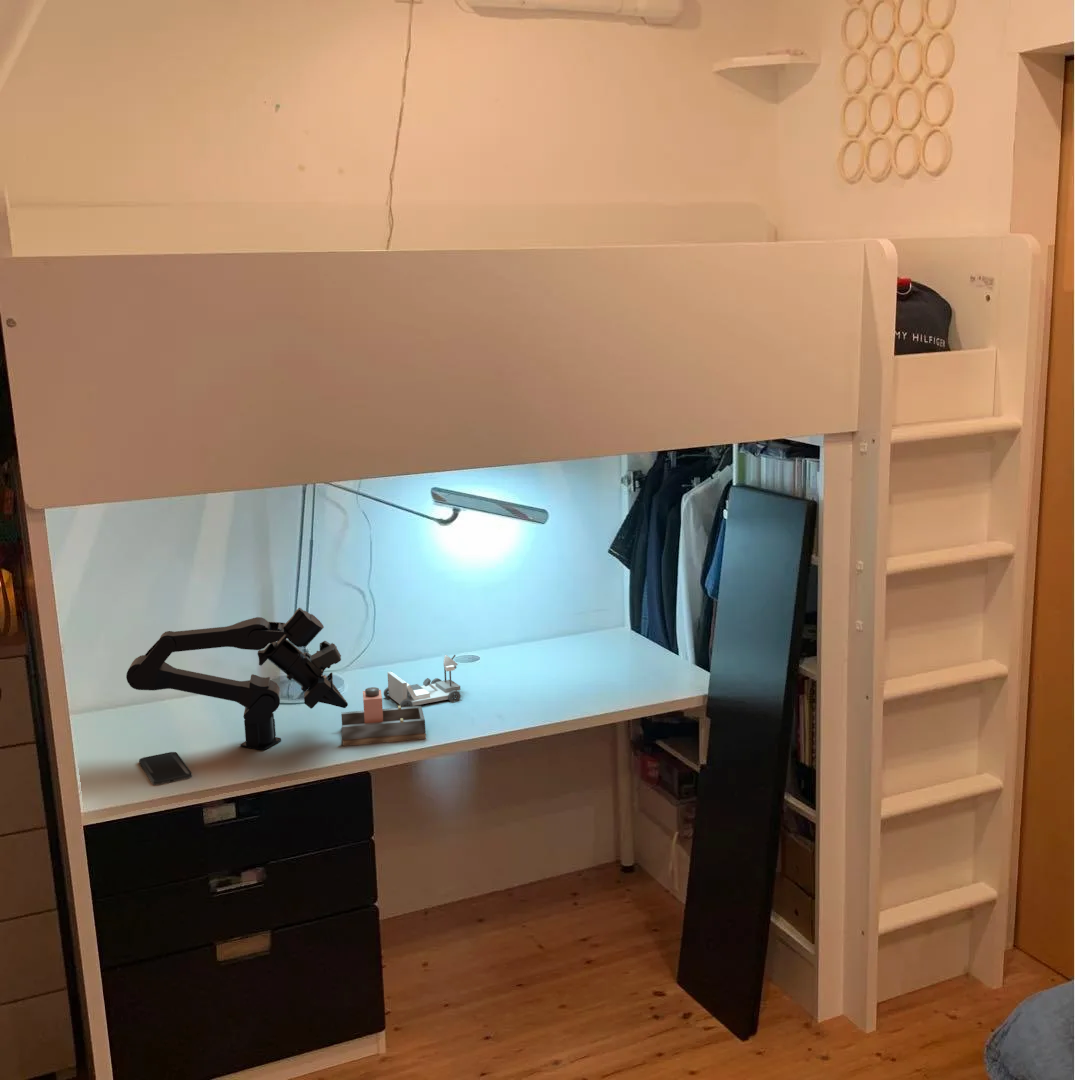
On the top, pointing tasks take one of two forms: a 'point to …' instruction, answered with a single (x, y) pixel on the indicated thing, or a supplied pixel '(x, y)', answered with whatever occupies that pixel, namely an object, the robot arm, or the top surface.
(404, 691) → the toy car
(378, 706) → the slider
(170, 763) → the phone
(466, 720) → the top surface
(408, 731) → the track
